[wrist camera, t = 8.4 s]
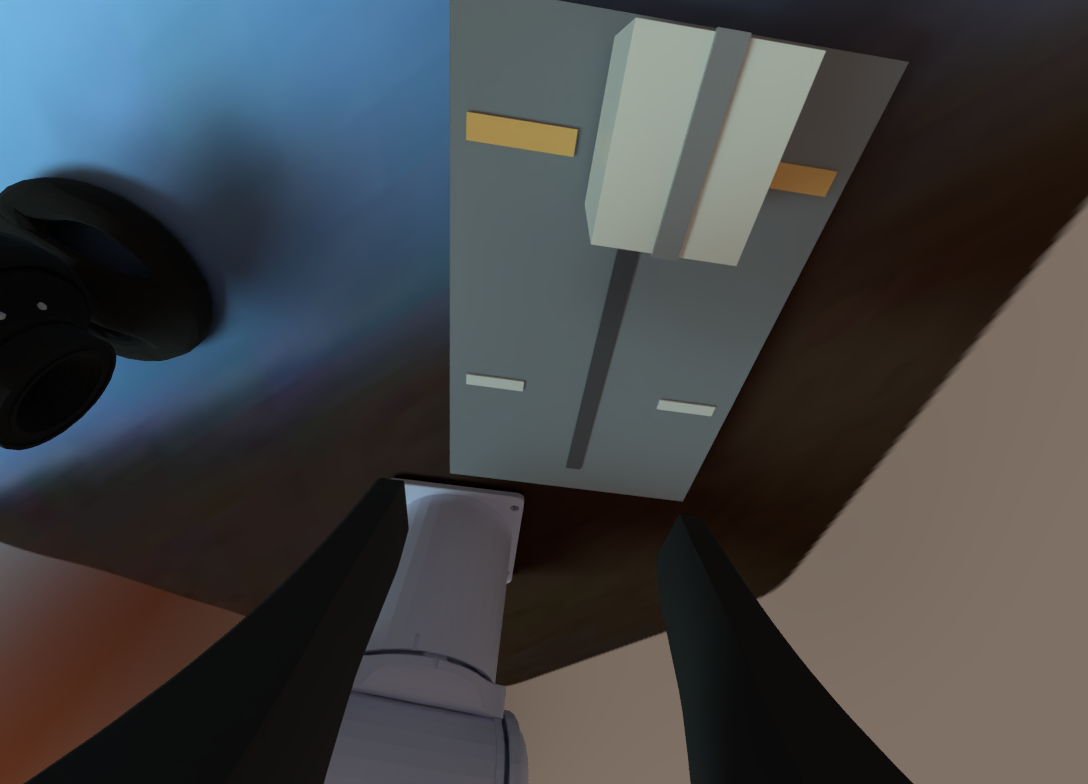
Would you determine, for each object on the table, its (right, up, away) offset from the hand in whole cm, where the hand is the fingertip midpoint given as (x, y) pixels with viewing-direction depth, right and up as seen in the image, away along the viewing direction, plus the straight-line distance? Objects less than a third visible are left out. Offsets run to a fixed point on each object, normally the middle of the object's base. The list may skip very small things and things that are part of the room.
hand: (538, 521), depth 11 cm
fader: (+3, +11, +1) cm, 11 cm away
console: (+3, +7, +6) cm, 10 cm away
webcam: (-18, +9, +7) cm, 21 cm away
